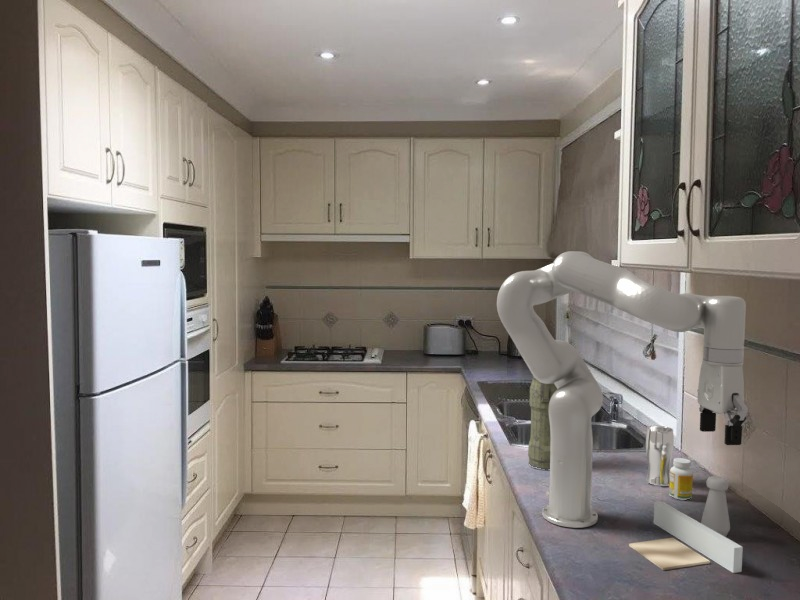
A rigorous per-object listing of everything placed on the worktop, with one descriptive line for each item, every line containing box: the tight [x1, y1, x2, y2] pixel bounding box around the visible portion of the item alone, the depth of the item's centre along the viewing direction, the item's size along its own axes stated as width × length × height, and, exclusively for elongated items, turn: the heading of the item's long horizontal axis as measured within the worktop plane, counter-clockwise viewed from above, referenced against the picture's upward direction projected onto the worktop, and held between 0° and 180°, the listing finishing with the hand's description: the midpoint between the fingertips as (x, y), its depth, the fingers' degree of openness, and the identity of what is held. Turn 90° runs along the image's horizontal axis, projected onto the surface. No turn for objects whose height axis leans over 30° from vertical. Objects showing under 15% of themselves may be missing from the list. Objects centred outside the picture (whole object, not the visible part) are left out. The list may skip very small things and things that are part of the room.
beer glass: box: [645, 425, 675, 485], centre depth 175 cm, size 7×7×15 cm
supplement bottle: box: [668, 457, 694, 500], centre depth 166 cm, size 5×5×10 cm
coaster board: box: [628, 537, 711, 571], centre depth 135 cm, size 11×11×1 cm
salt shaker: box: [700, 475, 731, 538], centre depth 143 cm, size 6×6×13 cm
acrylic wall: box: [653, 500, 744, 574], centre depth 138 cm, size 24×2×5 cm, turn 16°
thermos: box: [527, 375, 557, 469], centre depth 188 cm, size 9×12×35 cm
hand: (719, 437), depth 135 cm, fingers open, 9 cm apart
